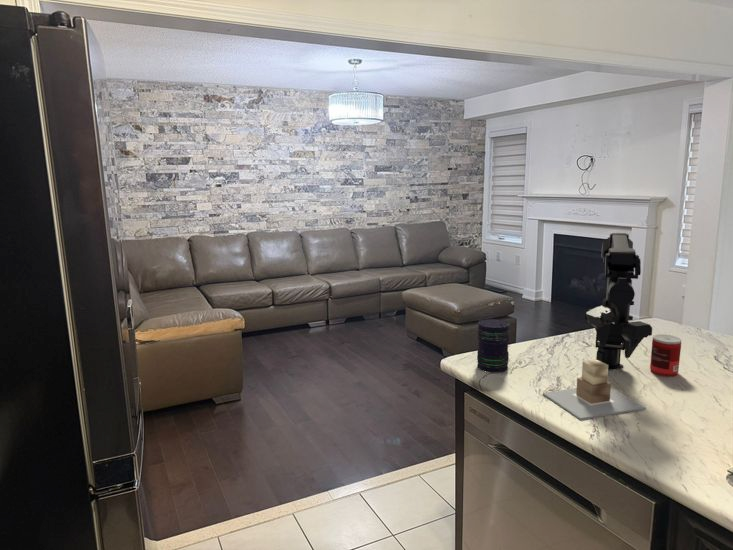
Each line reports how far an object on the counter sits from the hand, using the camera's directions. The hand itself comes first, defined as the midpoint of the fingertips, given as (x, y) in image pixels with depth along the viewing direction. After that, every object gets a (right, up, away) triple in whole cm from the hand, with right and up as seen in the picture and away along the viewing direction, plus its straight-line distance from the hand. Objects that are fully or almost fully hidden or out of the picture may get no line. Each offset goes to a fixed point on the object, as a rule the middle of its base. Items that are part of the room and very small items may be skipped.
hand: (614, 352), depth 138 cm
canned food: (+25, -9, +19) cm, 33 cm away
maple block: (-6, -8, 0) cm, 10 cm away
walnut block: (-6, -13, +1) cm, 14 cm away
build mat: (-6, -13, 0) cm, 15 cm away
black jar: (-27, -9, +26) cm, 38 cm away
